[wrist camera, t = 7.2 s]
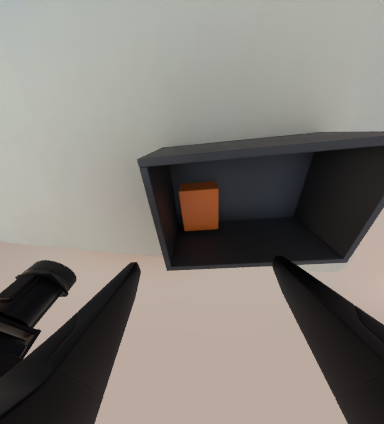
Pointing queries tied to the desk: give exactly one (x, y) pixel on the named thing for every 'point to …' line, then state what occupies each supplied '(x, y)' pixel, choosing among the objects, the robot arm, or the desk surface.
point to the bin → (269, 198)
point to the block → (199, 205)
